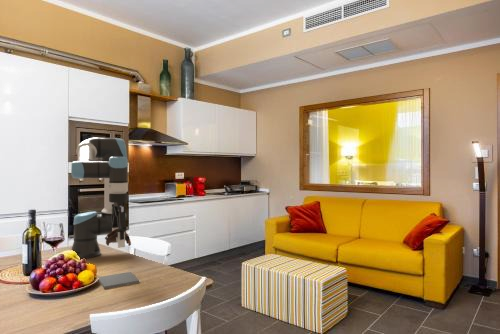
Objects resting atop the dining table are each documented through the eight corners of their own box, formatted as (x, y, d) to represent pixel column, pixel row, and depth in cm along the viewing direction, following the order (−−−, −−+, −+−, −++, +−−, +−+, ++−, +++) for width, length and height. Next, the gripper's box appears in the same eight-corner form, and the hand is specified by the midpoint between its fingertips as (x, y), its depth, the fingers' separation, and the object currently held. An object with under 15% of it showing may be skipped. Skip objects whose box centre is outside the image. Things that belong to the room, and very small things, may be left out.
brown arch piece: (130, 248, 144) (120, 232, 142) (110, 258, 145) (99, 242, 142) (136, 235, 156) (126, 220, 154) (117, 245, 156) (107, 230, 154)
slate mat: (97, 279, 150) (97, 277, 150) (130, 273, 158) (130, 271, 158) (104, 289, 139) (104, 286, 139) (139, 282, 147) (139, 280, 147)
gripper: (103, 191, 156) (103, 241, 156) (115, 195, 137) (115, 251, 137) (121, 190, 160) (121, 239, 160) (134, 194, 141) (134, 249, 141)
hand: (118, 244), depth 148 cm, fingers closed on brown arch piece, 10 cm apart
